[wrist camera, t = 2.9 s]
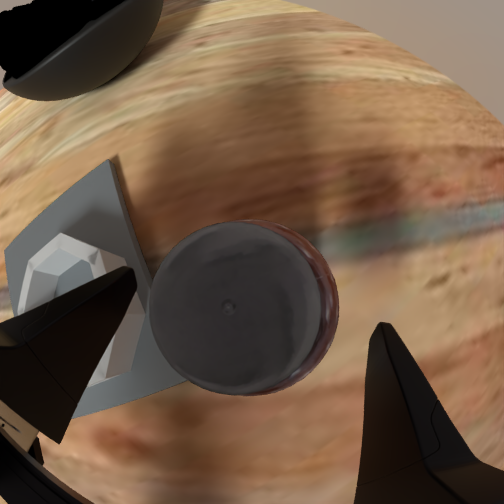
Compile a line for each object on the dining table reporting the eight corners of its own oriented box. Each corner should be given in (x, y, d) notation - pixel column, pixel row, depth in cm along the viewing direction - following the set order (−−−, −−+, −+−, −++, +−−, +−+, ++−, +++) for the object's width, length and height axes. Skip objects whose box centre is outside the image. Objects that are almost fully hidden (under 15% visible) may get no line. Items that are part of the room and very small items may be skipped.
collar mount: (196, 375, 16) (172, 391, 12) (58, 421, 16) (29, 431, 13) (114, 164, 21) (88, 141, 17) (10, 252, 21) (-16, 243, 17)
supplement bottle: (201, 291, 17) (83, 258, 6) (280, 242, 18) (271, 135, 7) (248, 372, 16) (188, 463, 5) (331, 323, 16) (410, 344, 5)
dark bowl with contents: (176, 10, 26) (138, -84, 8) (200, 78, 22) (131, -90, 3) (60, 70, 27) (2, 1, 9) (39, 165, 23) (-72, 83, 4)
